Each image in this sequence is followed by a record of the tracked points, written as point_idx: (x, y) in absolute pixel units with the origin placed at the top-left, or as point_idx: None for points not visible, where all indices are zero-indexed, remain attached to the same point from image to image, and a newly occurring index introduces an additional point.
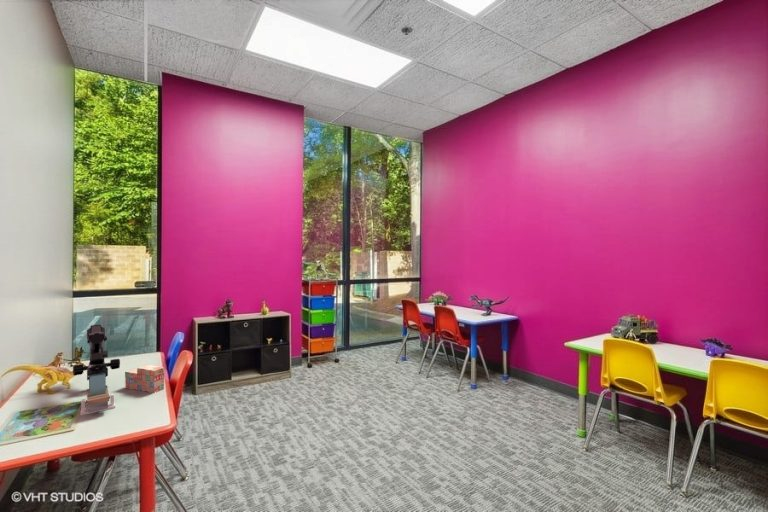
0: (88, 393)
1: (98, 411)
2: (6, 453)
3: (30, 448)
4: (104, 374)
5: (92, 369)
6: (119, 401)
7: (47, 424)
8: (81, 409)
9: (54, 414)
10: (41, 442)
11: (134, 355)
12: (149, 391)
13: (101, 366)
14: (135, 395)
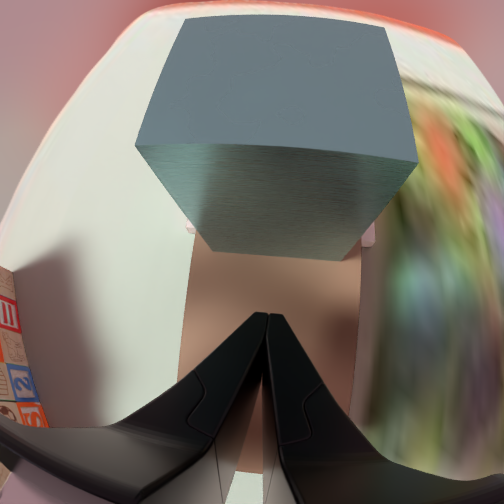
0: (349, 311)
1: None
2: (481, 73)
3: (443, 57)
4: (198, 18)
5: (391, 480)
6: (154, 270)
7: (474, 183)
8: (370, 239)
9: (479, 303)
10: (432, 65)
11: None
12: (13, 303)
13: (69, 457)
14: (66, 312)
